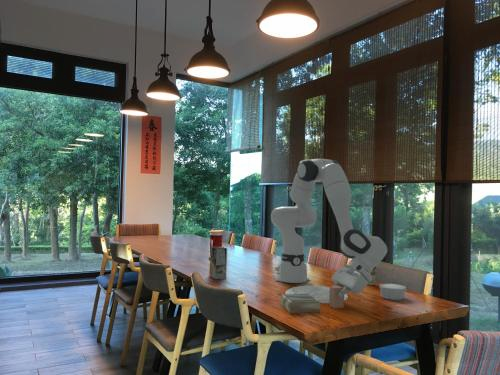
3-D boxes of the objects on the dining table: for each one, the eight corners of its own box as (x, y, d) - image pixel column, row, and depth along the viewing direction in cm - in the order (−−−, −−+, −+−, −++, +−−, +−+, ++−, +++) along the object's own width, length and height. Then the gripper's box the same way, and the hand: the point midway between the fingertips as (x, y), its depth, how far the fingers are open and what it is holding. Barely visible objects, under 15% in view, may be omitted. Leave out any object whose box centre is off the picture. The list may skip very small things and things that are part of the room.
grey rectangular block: (329, 305, 164) (329, 285, 164) (339, 304, 165) (339, 285, 165) (333, 308, 159) (334, 288, 160) (343, 307, 160) (344, 287, 161)
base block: (280, 304, 163) (280, 293, 163) (308, 303, 166) (308, 292, 166) (290, 312, 151) (290, 301, 151) (319, 311, 154) (319, 300, 154)
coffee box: (226, 278, 210) (227, 248, 210) (215, 279, 207) (216, 248, 207) (219, 275, 218) (220, 246, 218) (209, 276, 215) (209, 246, 215)
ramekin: (377, 294, 185) (377, 282, 185) (401, 295, 184) (402, 283, 184) (382, 300, 174) (382, 288, 174) (408, 301, 173) (409, 289, 173)
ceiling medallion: (300, 306, 163) (300, 298, 163) (276, 289, 190) (276, 283, 190) (360, 302, 171) (360, 295, 171) (329, 287, 198) (329, 281, 198)
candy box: (376, 284, 204) (376, 255, 204) (370, 285, 202) (370, 255, 202) (363, 281, 212) (364, 252, 212) (357, 282, 210) (358, 253, 210)
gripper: (341, 260, 174) (320, 283, 172) (365, 269, 154) (341, 295, 152) (350, 270, 175) (329, 293, 173) (375, 280, 155) (351, 306, 153)
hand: (335, 294), depth 162 cm, fingers closed on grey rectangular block, 4 cm apart
